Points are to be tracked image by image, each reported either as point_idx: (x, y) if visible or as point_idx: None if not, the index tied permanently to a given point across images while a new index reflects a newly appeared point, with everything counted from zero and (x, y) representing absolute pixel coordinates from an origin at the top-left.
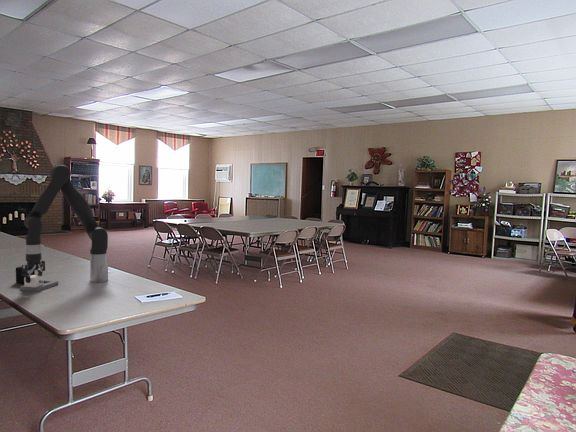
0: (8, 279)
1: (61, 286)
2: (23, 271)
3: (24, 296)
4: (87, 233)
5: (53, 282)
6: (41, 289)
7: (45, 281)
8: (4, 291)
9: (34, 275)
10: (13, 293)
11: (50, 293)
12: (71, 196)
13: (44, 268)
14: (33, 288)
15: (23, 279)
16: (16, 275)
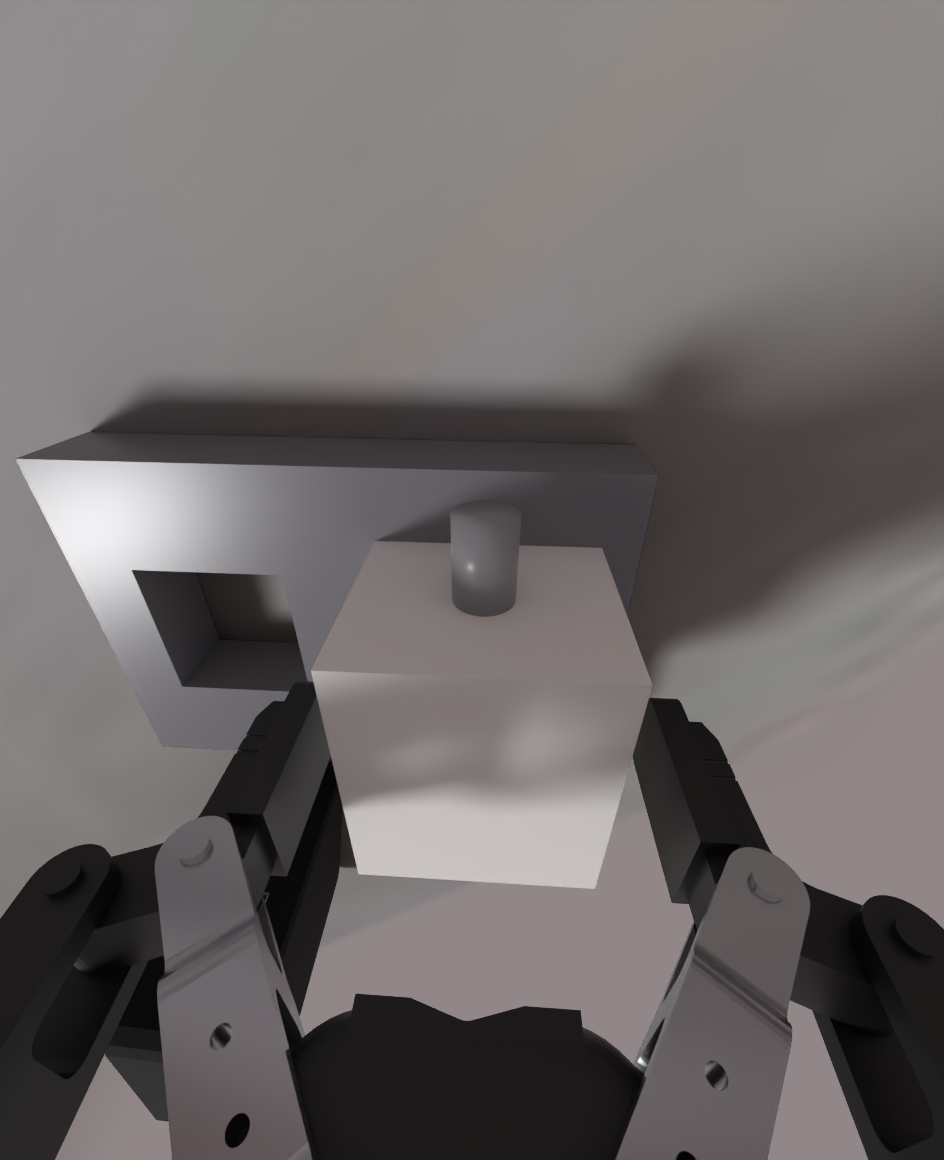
0: None
1: (91, 309)
2: (922, 1140)
3: (910, 483)
4: None
5: (148, 480)
6: (532, 452)
7: (178, 661)
8: (626, 817)
9: (370, 841)
10: (708, 711)
11: (677, 67)
12: None
13: (26, 939)
14: (636, 556)
15: (321, 880)
16: (309, 978)
